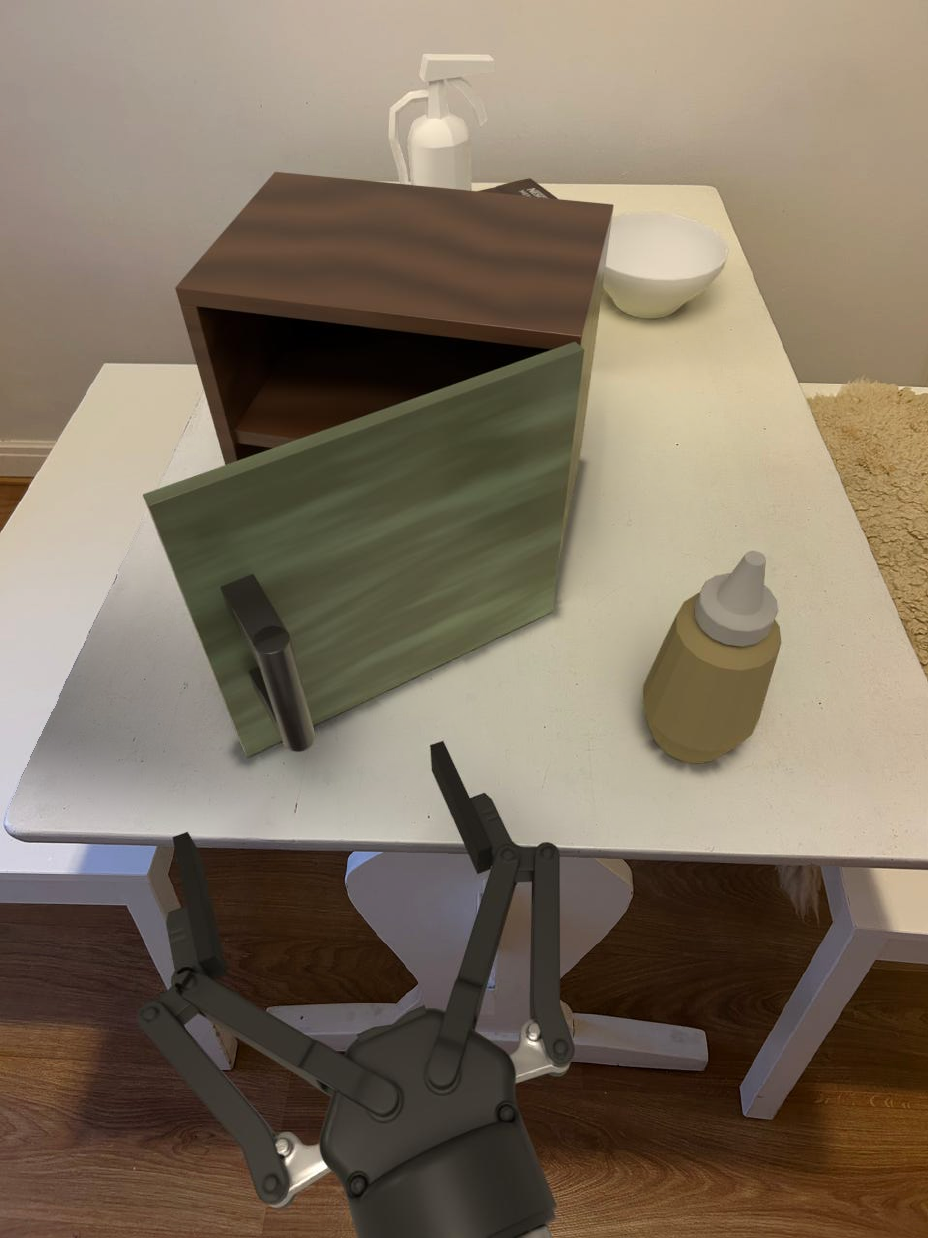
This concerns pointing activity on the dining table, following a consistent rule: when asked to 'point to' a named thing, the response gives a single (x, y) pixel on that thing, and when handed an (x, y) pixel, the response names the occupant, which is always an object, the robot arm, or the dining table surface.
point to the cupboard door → (375, 545)
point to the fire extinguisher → (440, 123)
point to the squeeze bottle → (715, 665)
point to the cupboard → (383, 301)
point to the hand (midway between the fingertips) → (316, 798)
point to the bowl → (660, 262)
